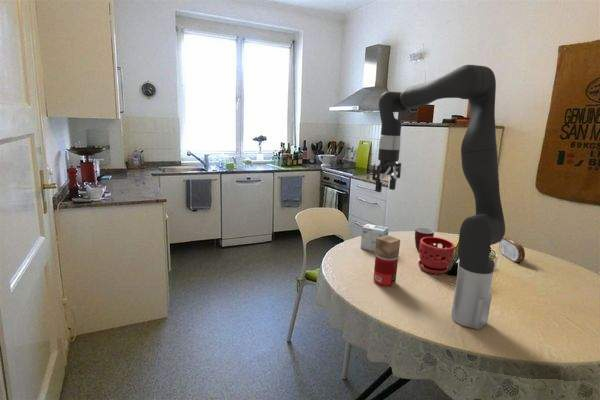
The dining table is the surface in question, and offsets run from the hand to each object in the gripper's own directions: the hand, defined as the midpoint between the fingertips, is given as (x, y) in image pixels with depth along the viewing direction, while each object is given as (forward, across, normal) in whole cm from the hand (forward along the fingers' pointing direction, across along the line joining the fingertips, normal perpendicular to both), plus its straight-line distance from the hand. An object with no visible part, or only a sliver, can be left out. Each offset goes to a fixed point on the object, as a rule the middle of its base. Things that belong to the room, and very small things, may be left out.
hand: (385, 190), depth 136 cm
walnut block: (+21, -8, -9) cm, 24 cm away
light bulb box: (+32, +16, +15) cm, 39 cm away
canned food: (+32, -8, -9) cm, 35 cm away
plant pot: (+32, +18, -14) cm, 40 cm away
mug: (+32, +33, +1) cm, 46 cm away
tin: (+32, +58, -28) cm, 72 cm away
